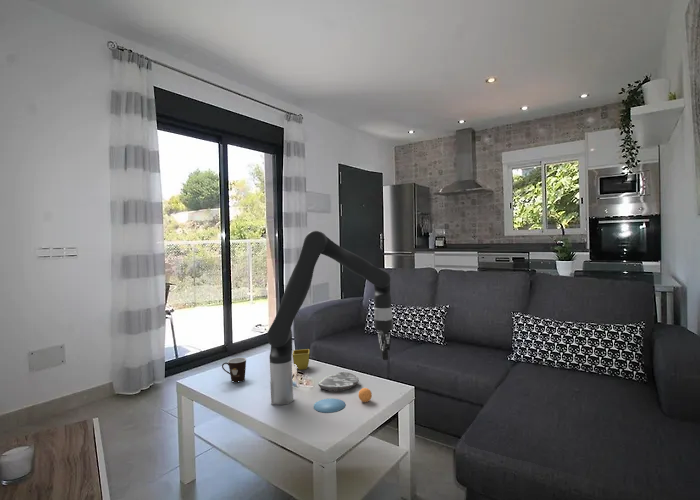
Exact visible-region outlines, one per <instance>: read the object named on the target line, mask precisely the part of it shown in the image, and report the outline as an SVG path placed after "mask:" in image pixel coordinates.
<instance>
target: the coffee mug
mask: <svg viewBox="0 0 700 500" xmlns="http://www.w3.org/2000/svg"><path fill="white" fill-rule="evenodd" d="M224 365H228V369H229V371H228V370H227V369H225V368H224ZM246 367H247V358H245V357H235V358H234V357H233V358H230V359H229V360H228V361H227V362H223V363H222V365H221V368H222V370H223V371H224V372H226V373H227V374H229V375H230V381H231V382H232V381H234V382H237V383H239V382H238V381H242V382H244V381H245V379H246V369H247V368H246ZM243 380H244V381H243ZM234 382H233V383H234Z"/></svg>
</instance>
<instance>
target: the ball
mask: <svg viewBox="0 0 700 500" xmlns="http://www.w3.org/2000/svg"><path fill="white" fill-rule="evenodd" d="M372 395H373V394H372V390H371V389H369V388H367V387H363V388H361V389H360V390H359V391H358V398H359V400H360V401H361V402H362V403H368V402H369V401H370V400H371V399H372Z"/></svg>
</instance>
